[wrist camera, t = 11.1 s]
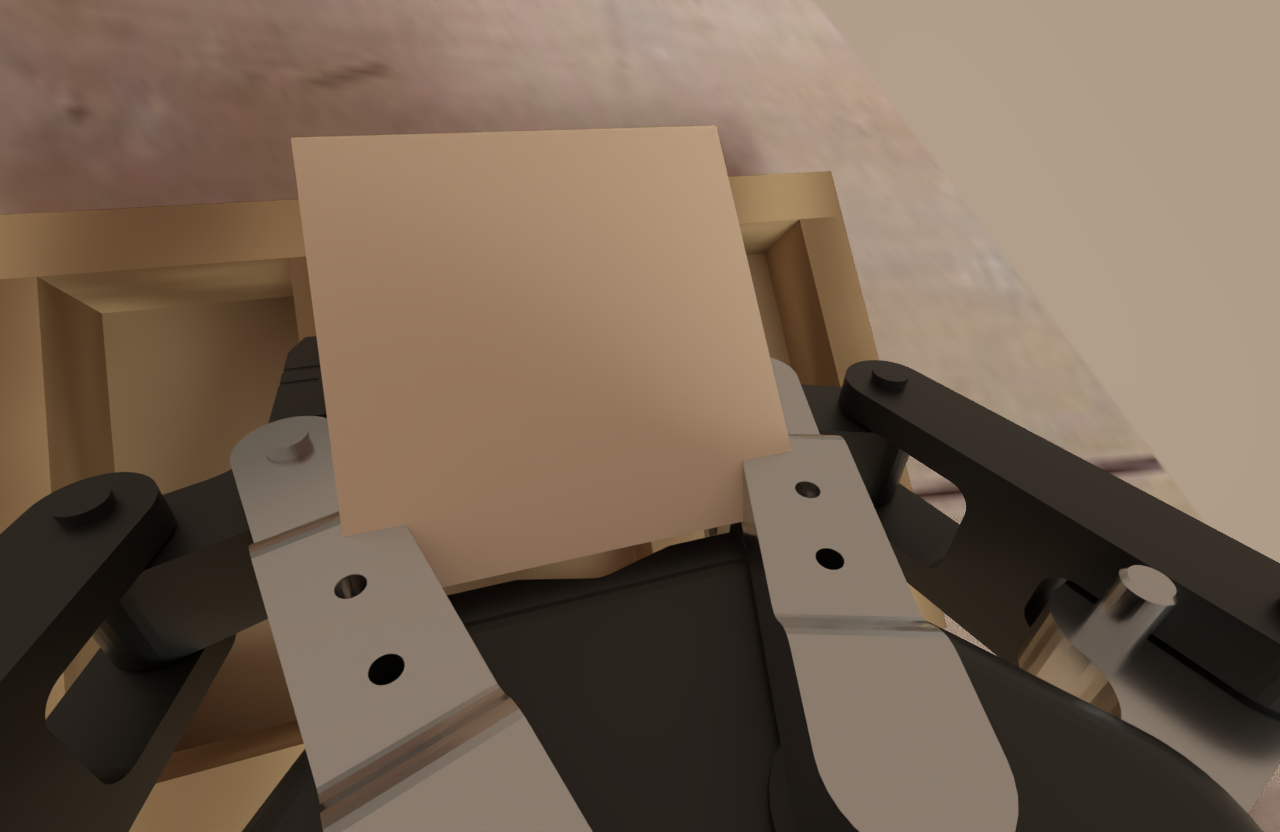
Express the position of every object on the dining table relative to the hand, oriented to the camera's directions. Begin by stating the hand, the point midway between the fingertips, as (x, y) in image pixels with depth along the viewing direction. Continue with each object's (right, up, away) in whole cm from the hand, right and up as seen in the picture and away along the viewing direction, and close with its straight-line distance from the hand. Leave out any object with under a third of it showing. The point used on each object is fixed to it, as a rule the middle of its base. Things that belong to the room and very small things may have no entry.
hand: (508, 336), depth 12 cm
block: (-1, -3, +5) cm, 5 cm away
